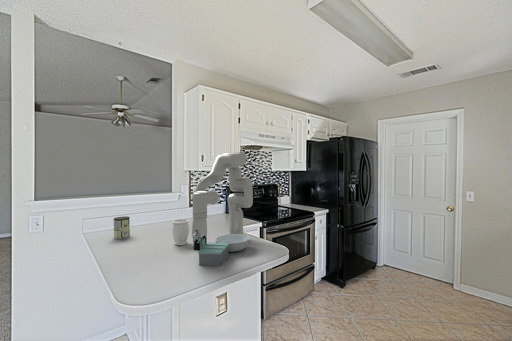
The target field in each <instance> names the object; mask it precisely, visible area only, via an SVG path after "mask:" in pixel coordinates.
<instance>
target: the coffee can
mask: <svg viewBox="0 0 512 341" xmlns="http://www.w3.org/2000/svg"><path fill="white" fill-rule="evenodd" d="M130 226H131V225H130V216H125V215H124V216H117V217H114V218H113V239H116V240H118V239H119V240H120V239H121V240H122V238H123V239H126V238H129V237H130V236H131V235H130V234H131V233H130V232H131V231H130V230H131V229H130Z"/></svg>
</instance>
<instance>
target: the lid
mask: <svg viewBox="0 0 512 341" xmlns="http://www.w3.org/2000/svg"><path fill="white" fill-rule="evenodd" d="M197 240H198V239H197ZM199 243H200V250H199V251H197V254H198V255H199V254H218V255H220V254H221V253H222V252H223V251H224V250H225V249H226V248H227V247H228V246H229V243H216V242H207V244H206V245H205V238H200V241H199Z"/></svg>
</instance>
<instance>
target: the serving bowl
mask: <svg viewBox="0 0 512 341" xmlns="http://www.w3.org/2000/svg"><path fill="white" fill-rule="evenodd" d="M214 241H215V242H214V243H229V246H228V253H229V252H230V253H232V252H233V253H234V252H239V251H242V250H244V249H246V248H247V247H248V246H249V245H250V242H251V236H249V235H247V234H244V233H243V234H230V233H228V234H222V235H218V236H217V237H216V238H215V239H214Z"/></svg>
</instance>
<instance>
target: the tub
mask: <svg viewBox="0 0 512 341" xmlns="http://www.w3.org/2000/svg"><path fill="white" fill-rule="evenodd" d="M228 257H229V252H228V247H227V248H226V249H225V250H224V251H223V252H222V253H221V254H220V255H218V254H198V266H208V267H221V266H222V265H223V264H224V263H225V261H226V260H227V259H228Z"/></svg>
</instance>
